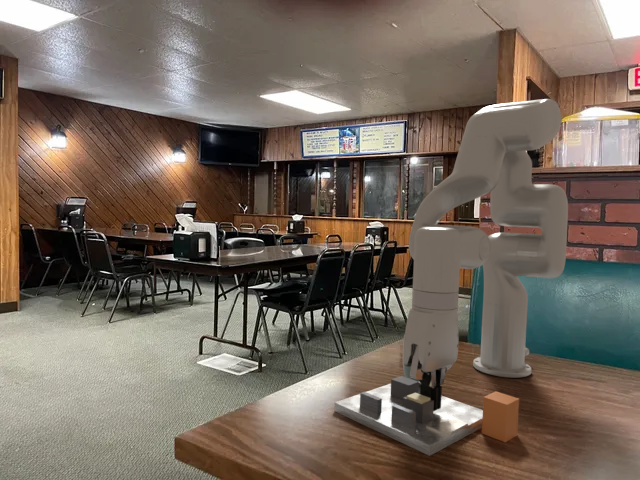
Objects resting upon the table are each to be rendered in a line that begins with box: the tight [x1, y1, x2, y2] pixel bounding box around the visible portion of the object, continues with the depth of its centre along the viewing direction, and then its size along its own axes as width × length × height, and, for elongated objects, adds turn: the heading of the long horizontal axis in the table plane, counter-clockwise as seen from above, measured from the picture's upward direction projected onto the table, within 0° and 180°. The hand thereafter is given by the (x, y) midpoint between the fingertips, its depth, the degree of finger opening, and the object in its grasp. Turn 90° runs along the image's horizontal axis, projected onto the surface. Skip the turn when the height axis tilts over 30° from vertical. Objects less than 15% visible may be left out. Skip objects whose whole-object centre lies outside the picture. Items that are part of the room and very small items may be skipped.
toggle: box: [390, 375, 420, 400], centre depth 88 cm, size 3×4×3 cm
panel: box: [334, 383, 483, 456], centre depth 83 cm, size 18×20×4 cm
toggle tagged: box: [403, 393, 434, 424], centre depth 79 cm, size 3×4×3 cm
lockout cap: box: [481, 390, 520, 443], centre depth 78 cm, size 4×4×6 cm
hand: (430, 407), depth 82 cm, fingers closed
